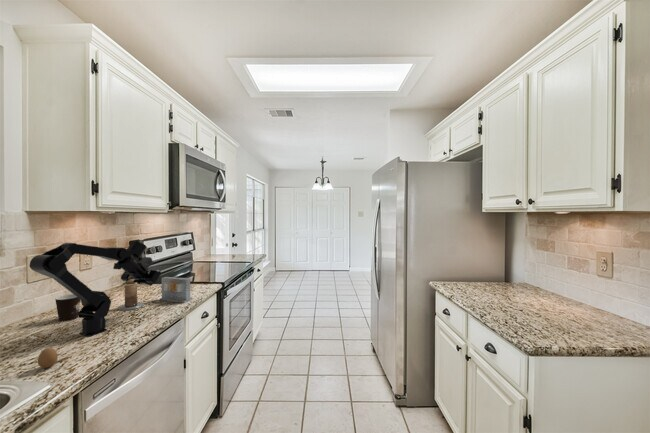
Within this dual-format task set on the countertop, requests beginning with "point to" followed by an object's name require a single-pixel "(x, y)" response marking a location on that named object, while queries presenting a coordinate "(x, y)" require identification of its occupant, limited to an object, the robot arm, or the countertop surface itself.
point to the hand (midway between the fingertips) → (151, 284)
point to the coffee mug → (67, 307)
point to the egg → (47, 358)
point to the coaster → (123, 308)
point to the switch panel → (175, 289)
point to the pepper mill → (130, 293)
